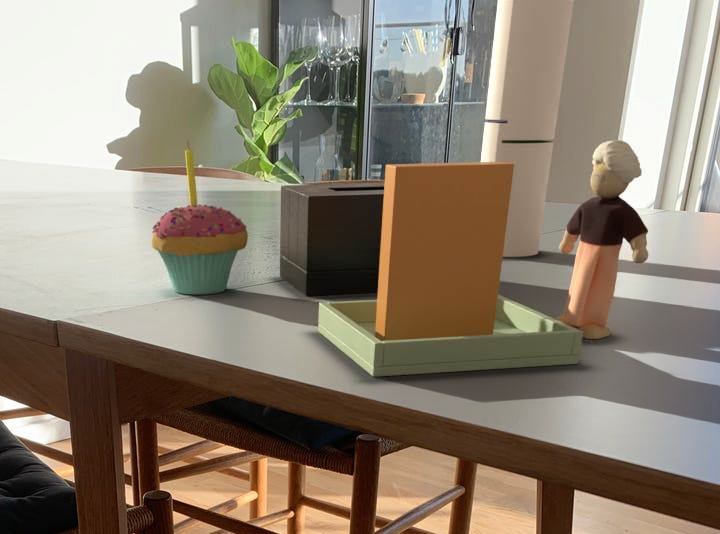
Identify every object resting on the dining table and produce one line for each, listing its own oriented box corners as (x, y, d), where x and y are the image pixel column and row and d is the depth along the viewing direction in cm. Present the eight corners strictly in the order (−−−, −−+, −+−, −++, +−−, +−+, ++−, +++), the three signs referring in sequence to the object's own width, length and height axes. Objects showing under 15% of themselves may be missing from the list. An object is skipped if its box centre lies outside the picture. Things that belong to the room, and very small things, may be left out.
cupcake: (140, 286, 87) (131, 140, 81) (222, 278, 91) (219, 137, 85) (178, 302, 81) (171, 145, 75) (265, 293, 84) (265, 141, 78)
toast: (480, 332, 68) (501, 161, 62) (492, 338, 66) (514, 163, 61) (374, 338, 67) (385, 164, 61) (383, 345, 65) (396, 166, 59)
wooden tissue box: (437, 269, 94) (445, 180, 90) (478, 287, 86) (489, 190, 82) (279, 276, 91) (280, 185, 87) (305, 296, 83) (308, 196, 79)
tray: (493, 321, 74) (497, 293, 73) (578, 364, 62) (583, 331, 61) (317, 331, 71) (318, 302, 70) (373, 377, 60) (375, 343, 59)
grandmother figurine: (525, 328, 71) (553, 139, 65) (555, 321, 74) (584, 137, 67) (618, 347, 66) (657, 143, 60) (646, 338, 68) (687, 141, 62)
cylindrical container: (497, 245, 108) (529, -21, 95) (551, 251, 103) (592, -27, 91) (457, 251, 104) (485, -25, 91) (511, 259, 99) (549, -32, 87)
